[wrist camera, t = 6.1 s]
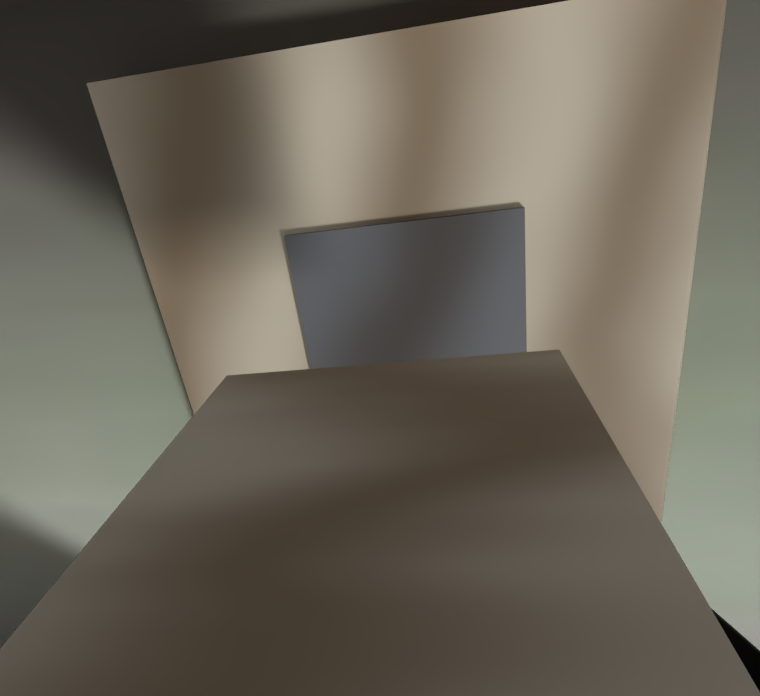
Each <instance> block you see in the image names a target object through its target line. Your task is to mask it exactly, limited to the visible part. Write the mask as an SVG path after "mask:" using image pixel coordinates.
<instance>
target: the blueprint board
mask: <svg viewBox="0 0 760 696" xmlns="http://www.w3.org/2000/svg"><path fill="white" fill-rule="evenodd" d="M726 3H727V0H568V1H563V2H557V3H551V4H545V5H539V6H533V7H528V8H522V9H516V10H510V11H504V12H499V13H493V14H487V15H481V16H475V17H469V18H464V19H458V20H452V21H446V22H440V23H434V24H429V25H423V26H417V27H411V28H405V29H399V30H394V31H388V32H382V33H376V34H370V35H365V36H359V37H353V38H347V39H341V40H335V41H330V42H324V43H318V44H312V45H306V46H300V47H295V48H289V49H283V50H277V51H271V52H266V53H260V54H254V55H248V56H242V57H236V58H231V59H225V60H219V61H213V62H207V63H201V64H196V65H190V66H184V67H178V68H172V69H166V70H161V71H155V72H149V73H143V74H137V75H132V76H126V77H120V78H114V79H108V80H102V81H97V82H91V83H86V84H87V87H88V90H89V93H90V96H91V99H92V102H93V106H94V109H95V112H96V115H97V118H98V121H99V124H100V127H101V130H102V133H103V136H104V139H105V142H106V146H107V149H108V152H109V155H110V158H111V161H112V164H113V167H114V170H115V173H116V176H117V179H118V182H119V186H120V189H121V192H122V195H123V198H124V201H125V204H126V207H127V210H128V213H129V216H130V219H131V222H132V226H133V229H134V232H135V235H136V238H137V241H138V244H139V247H140V250H141V253H142V256H143V259H144V262H145V266H146V269H147V272H148V275H149V278H150V281H151V284H152V287H153V290H154V293H155V296H156V299H157V302H158V306H159V309H160V312H161V315H162V318H163V321H164V324H165V327H166V330H167V333H168V336H169V339H170V342H171V346H172V349H173V352H174V355H175V358H176V361H177V364H178V367H179V370H180V373H181V376H182V379H183V382H184V386H185V389H186V392H187V395H188V398H189V401H190V404H191V407H192V410H193V413H194V414H195V413H196V412H197V411H198V410H199V408H200V407H201V406H202V405H203V404H204V402H205V401H206V400H207V399H208V398H209V396H210V395H211V394H212V393H213V391H214V390H215V389H216V388H217V387H218V385H219V384H220V383H221V382H222V381H223V379H224V378H225V377H226V376H227V375H239V374H252V373H264V372H277V371H290V370H303V369H316V368H328V367H341V366H354V365H367V364H379V363H392V362H405V361H418V360H431V359H443V358H456V357H469V356H482V355H494V354H507V353H520V352H533V351H545V350H558V349H559V350H560V352H561V353H562V355H563V357H564V358H565V360H566V362H567V364H568V365H569V367H570V369H571V370H572V372H573V374H574V375H575V377H576V379H577V381H578V382H579V384H580V386H581V387H582V389H583V391H584V393H585V394H586V396H587V398H588V399H589V401H590V403H591V405H592V406H593V408H594V410H595V411H596V413H597V415H598V416H599V418H600V420H601V422H602V423H603V425H604V427H605V428H606V430H607V432H608V434H609V435H610V437H611V439H612V440H613V442H614V444H615V446H616V447H617V449H618V451H619V452H620V454H621V456H622V458H623V459H624V461H625V463H626V464H627V466H628V468H629V469H630V471H631V473H632V475H633V476H634V478H635V480H636V481H637V483H638V485H639V487H640V488H641V490H642V492H643V493H644V495H645V497H646V499H647V500H648V502H649V504H650V505H651V507H652V509H653V511H654V512H655V514H656V516H657V517H658V519H659V521H662V517H663V509H664V501H665V493H666V485H667V477H668V469H669V461H670V453H671V445H672V437H673V429H674V421H675V413H676V405H677V397H678V389H679V381H680V373H681V364H682V356H683V348H684V340H685V332H686V324H687V316H688V308H689V300H690V292H691V284H692V276H693V268H694V260H695V252H696V244H697V236H698V228H699V220H700V212H701V204H702V196H703V188H704V180H705V172H706V163H707V155H708V147H709V139H710V131H711V123H712V115H713V107H714V99H715V91H716V83H717V75H718V67H719V59H720V51H721V43H722V35H723V27H724V19H725V11H726Z"/></svg>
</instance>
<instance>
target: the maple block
mask: <svg viewBox="0 0 760 696" xmlns="http://www.w3.org/2000/svg"><path fill="white" fill-rule="evenodd" d="M0 696H760V692H759V690H758V688H757V687H756V685H755V683H754V681H753V680H752V678H751V676H750V675H749V673H748V671H747V669H746V668H745V666H744V664H743V663H742V661H741V659H740V658H739V656H738V654H737V652H736V651H735V649H734V647H733V646H732V644H731V642H730V640H729V639H728V637H727V635H726V634H725V632H724V630H723V628H722V627H721V625H720V623H719V622H718V620H717V618H716V616H715V615H714V613H713V611H712V610H711V608H710V606H709V605H708V603H707V601H706V599H705V598H704V596H703V594H702V593H701V591H700V589H699V587H698V586H697V584H696V582H695V581H694V579H693V577H692V575H691V574H690V572H689V570H688V569H687V567H686V565H685V563H684V562H683V560H682V558H681V557H680V555H679V553H678V552H677V550H676V548H675V546H674V545H673V543H672V541H671V540H670V538H669V536H668V534H667V533H666V531H665V529H664V528H663V526H662V524H661V522H660V521H659V519H658V517H657V516H656V514H655V512H654V511H653V509H652V507H651V505H650V504H649V502H648V500H647V499H646V497H645V495H644V493H643V492H642V490H641V488H640V487H639V485H638V483H637V481H636V480H635V478H634V476H633V475H632V473H631V471H630V469H629V468H628V466H627V464H626V463H625V461H624V459H623V458H622V456H621V454H620V452H619V451H618V449H617V447H616V446H615V444H614V442H613V440H612V439H611V437H610V435H609V434H608V432H607V430H606V428H605V427H604V425H603V423H602V422H601V420H600V418H599V416H598V415H597V413H596V411H595V410H594V408H593V406H592V405H591V403H590V401H589V399H588V398H587V396H586V394H585V393H584V391H583V389H582V387H581V386H580V384H579V382H578V381H577V379H576V377H575V375H574V374H573V372H572V370H571V369H570V367H569V365H568V364H567V362H566V360H565V358H564V357H563V355H562V353H561V352H560V350H559V349H558V350H545V351H533V352H520V353H507V354H494V355H482V356H469V357H456V358H443V359H431V360H418V361H405V362H392V363H379V364H367V365H354V366H341V367H328V368H316V369H303V370H290V371H277V372H264V373H252V374H239V375H227V376H226V377H225V378H224V379H223V381H222V382H221V383H220V384H219V385H218V387H217V388H216V389H215V390H214V391H213V393H212V394H211V395H210V396H209V398H208V399H207V400H206V401H205V402H204V404H203V405H202V406H201V407H200V408H199V410H198V411H197V412H196V413H195V414H194V416H193V417H192V418H191V419H190V420H189V422H188V423H187V424H186V425H185V426H184V428H183V429H182V430H181V431H180V432H179V434H178V435H177V436H176V437H175V438H174V440H173V441H172V442H171V443H170V445H169V446H168V447H167V448H166V449H165V451H164V452H163V453H162V454H161V455H160V457H159V458H158V459H157V460H156V461H155V463H154V464H153V465H152V466H151V467H150V469H149V470H148V471H147V472H146V473H145V475H144V476H143V477H142V478H141V479H140V481H139V482H138V483H137V484H136V486H135V487H134V488H133V489H132V490H131V492H130V493H129V494H128V495H127V496H126V498H125V499H124V500H123V501H122V502H121V504H120V505H119V506H118V507H117V508H116V510H115V511H114V512H113V513H112V514H111V516H110V517H109V518H108V519H107V520H106V522H105V523H104V524H103V525H102V527H101V528H100V529H99V530H98V531H97V533H96V534H95V535H94V536H93V537H92V539H91V540H90V541H89V542H88V543H87V545H86V546H85V547H84V548H83V549H82V551H81V552H80V553H79V554H78V555H77V557H76V558H75V559H74V560H73V561H72V563H71V564H70V565H69V566H68V568H67V569H66V570H65V571H64V572H63V574H62V575H61V576H60V577H59V578H58V580H57V581H56V582H55V583H54V584H53V586H52V587H51V588H50V589H49V590H48V592H47V593H46V594H45V595H44V596H43V598H42V599H41V600H40V601H39V602H38V604H37V605H36V606H35V607H34V609H33V610H32V611H31V612H30V613H29V615H28V616H27V617H26V618H25V619H24V621H23V622H22V623H21V624H20V625H19V627H18V628H17V629H16V630H15V631H14V633H13V634H12V635H11V636H10V637H9V639H8V640H7V641H6V642H5V643H4V645H3V646H2V647H1V648H0Z"/></svg>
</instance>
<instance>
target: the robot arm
mask: <svg viewBox="0 0 760 696" xmlns="http://www.w3.org/2000/svg"><path fill="white" fill-rule="evenodd" d="M711 610H712V609H711ZM712 611H713V613H714V615H715V616H716V618H717V620H718V622H719V623H720V625H721V627H722V628H723V630H724V632H725V634H726V635H727V637H728V639H729V640H730V642H731V644H732V646H733V647H734V649H735V651H736V652H737V654H738V656H739V658H740V659H741V661H742V663H743V664H744V666H745V668H746V669H747V671H748V673H749V675H750V676H751V678H752V680H753V681H754V683H755V685H756V687H757V688H758V690H759V692H760V651H759V650H758V649H757V648H756V647H755V646H754V645H752V644H751V643H750V642H749V641H748V640H747V639H746V638H744V637H743V636H742V635H741V634H740V633H739V632H738V631H736V630H735V629H734V628H733V627H732V626H731V625H730V624H728V623H727V622H726V621H725V620H724V619H723V618H722V617H720V616H719V615H718V614H717V613H716V612H715V611H714V610H712Z"/></svg>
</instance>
